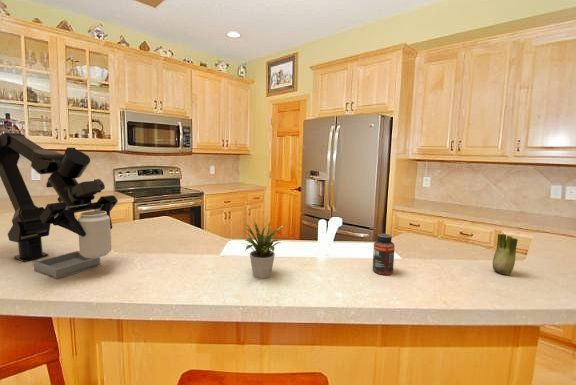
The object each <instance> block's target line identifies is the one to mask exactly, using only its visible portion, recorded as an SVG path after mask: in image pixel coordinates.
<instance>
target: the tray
mask: <svg viewBox="0 0 576 385" xmlns="http://www.w3.org/2000/svg"><path fill="white" fill-rule="evenodd" d="M100 259H101V257H98V258H85V257H83V256H82V255H80V250H75V251H71V252H67V253H63V254H59V255H56V256H55V255H54V256H51V257H48V258H43V259H40V260H36V261H34V262H33V269H34V271H35V272H36V273H39V274H42V275H44V276H47V277H49V278H52V279H55V280H59V279H61V278H64V277H67V276H70V275H74V274H78V273H81V272H84V271H86V270H90V269H93V268H97V267H99V266H101V260H100Z"/></svg>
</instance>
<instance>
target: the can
mask: <svg viewBox="0 0 576 385" xmlns="http://www.w3.org/2000/svg"><path fill="white" fill-rule="evenodd" d="M79 216H80V217H78V219H77V221H78V222H79V224H80V225H81V227H82V228H83V230H84V232H85V234H86V235H85V236H84V237H82V236H80V235H78V246H79V251H80V255H82V256H83V257H85V258H98V257H100V258H102V257H105V256H107V255H108V254H109V253H110V252H112V235H111V234H112V233H111V232H112V231H111V230H110V218H111V216H110V217H109V216H108V215H107V212H106V211H95V210H89V211H84V212H80V214H79Z"/></svg>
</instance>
